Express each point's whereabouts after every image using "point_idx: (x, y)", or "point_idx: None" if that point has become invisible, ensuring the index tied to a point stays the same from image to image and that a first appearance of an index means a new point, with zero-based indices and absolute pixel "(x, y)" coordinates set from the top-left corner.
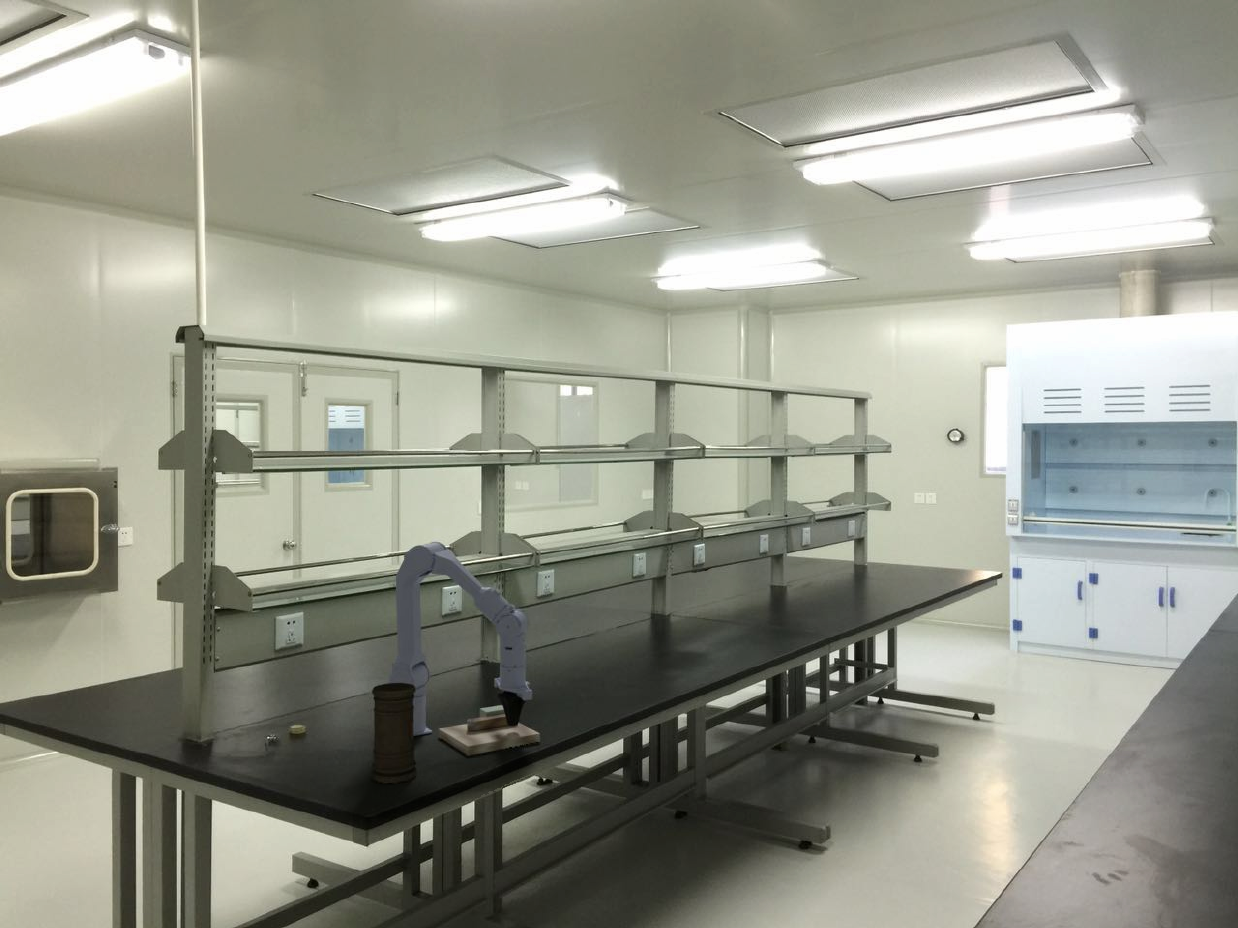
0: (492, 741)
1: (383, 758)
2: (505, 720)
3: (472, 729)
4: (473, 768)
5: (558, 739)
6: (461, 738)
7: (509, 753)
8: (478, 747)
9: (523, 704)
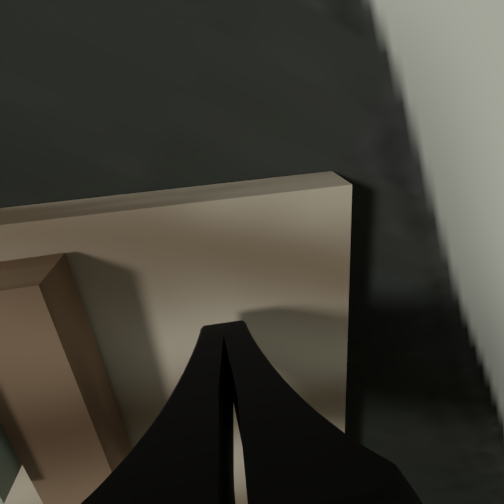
0: None
1: None
2: (84, 357)
3: None
4: (461, 486)
5: (343, 22)
6: None
7: (400, 358)
8: None
9: (329, 425)
